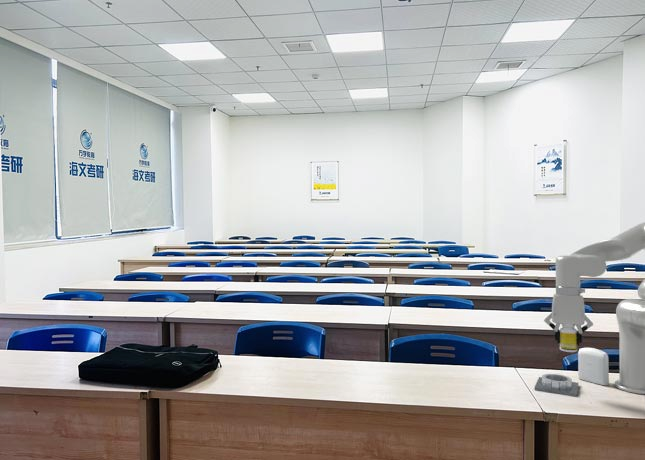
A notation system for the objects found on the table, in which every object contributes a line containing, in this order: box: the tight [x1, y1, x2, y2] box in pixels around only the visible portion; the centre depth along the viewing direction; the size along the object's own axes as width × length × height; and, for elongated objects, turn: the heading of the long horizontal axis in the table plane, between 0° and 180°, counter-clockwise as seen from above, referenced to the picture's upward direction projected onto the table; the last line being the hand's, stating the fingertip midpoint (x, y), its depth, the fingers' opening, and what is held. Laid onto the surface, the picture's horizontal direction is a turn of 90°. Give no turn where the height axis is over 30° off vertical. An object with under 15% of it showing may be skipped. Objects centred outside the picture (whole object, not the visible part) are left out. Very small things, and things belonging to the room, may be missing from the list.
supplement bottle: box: [559, 324, 578, 353], centre depth 162 cm, size 5×5×10 cm
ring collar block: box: [534, 373, 579, 397], centre depth 168 cm, size 13×13×4 cm
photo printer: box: [577, 347, 610, 386], centre depth 174 cm, size 10×4×12 cm, turn 32°
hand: (568, 343), depth 162 cm, fingers closed on supplement bottle, 5 cm apart
